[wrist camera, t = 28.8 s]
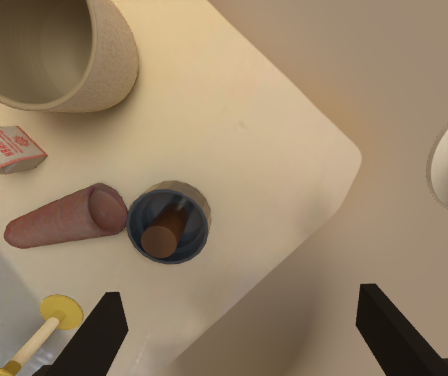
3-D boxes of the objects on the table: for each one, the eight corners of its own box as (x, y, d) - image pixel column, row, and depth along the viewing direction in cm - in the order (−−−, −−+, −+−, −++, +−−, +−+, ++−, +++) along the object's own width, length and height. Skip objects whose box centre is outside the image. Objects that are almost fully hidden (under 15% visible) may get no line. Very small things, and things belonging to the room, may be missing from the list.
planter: (97, 134, 41) (21, 141, 26) (27, 45, 37) (-108, -4, 22) (171, 76, 37) (132, 46, 23) (102, -27, 34) (3, -141, 19)
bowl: (207, 178, 42) (204, 186, 36) (214, 245, 46) (211, 262, 40) (134, 182, 43) (118, 191, 37) (146, 248, 47) (134, 265, 41)
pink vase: (111, 177, 43) (81, 190, 34) (134, 219, 45) (111, 242, 37) (21, 213, 46) (-28, 235, 37) (47, 252, 48) (7, 280, 39)
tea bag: (35, 167, 43) (-22, 180, 33) (6, 139, 41) (-62, 144, 32) (47, 155, 42) (-8, 165, 32) (18, 126, 41) (-48, 127, 31)
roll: (187, 202, 43) (174, 225, 33) (190, 228, 44) (178, 257, 35) (158, 203, 43) (137, 227, 34) (163, 229, 45) (144, 259, 35)
